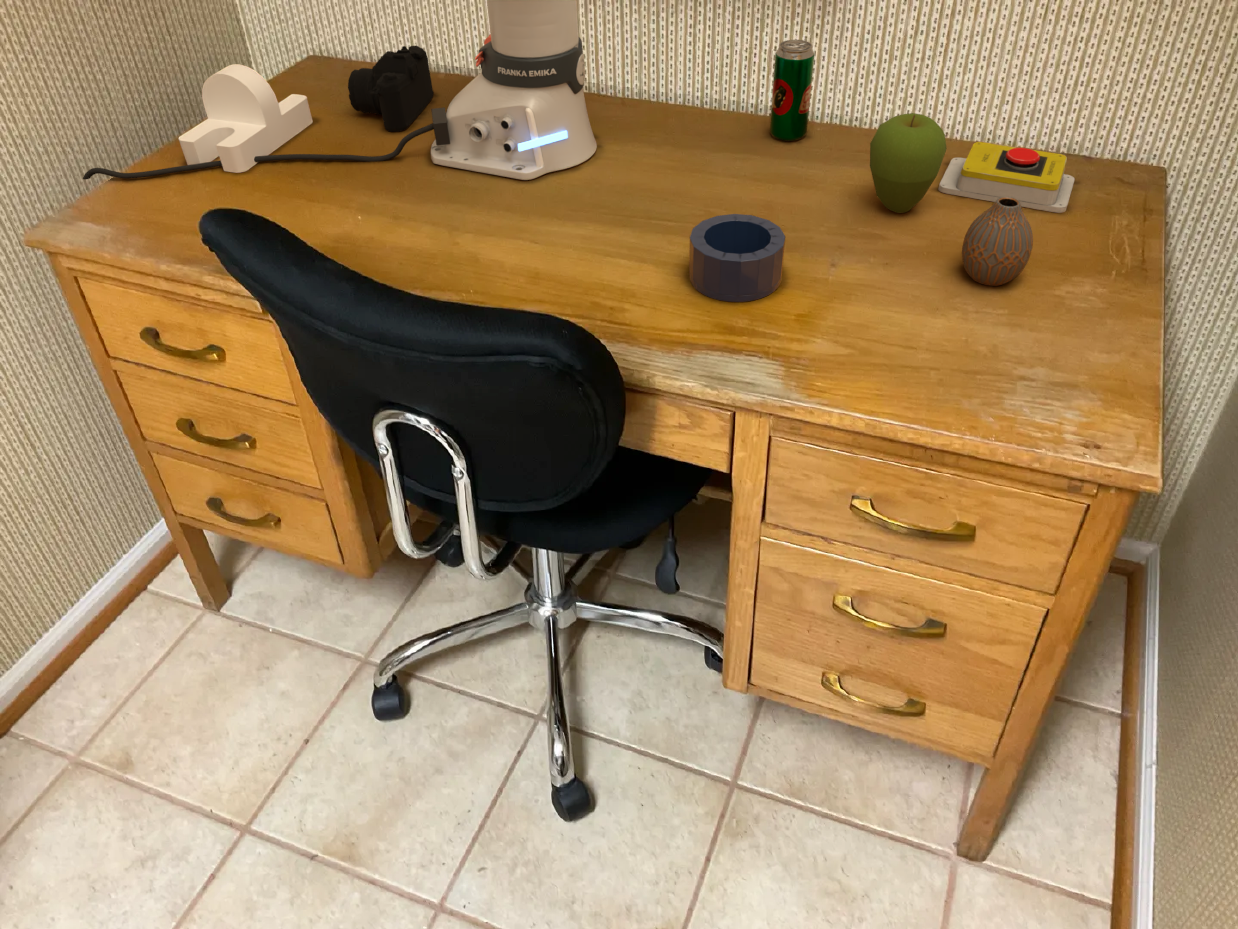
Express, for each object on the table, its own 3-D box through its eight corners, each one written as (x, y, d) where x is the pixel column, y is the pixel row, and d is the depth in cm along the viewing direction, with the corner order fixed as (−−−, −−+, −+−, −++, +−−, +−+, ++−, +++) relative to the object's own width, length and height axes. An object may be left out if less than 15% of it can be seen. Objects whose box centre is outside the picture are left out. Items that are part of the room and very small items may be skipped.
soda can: (805, 143, 131) (814, 52, 123) (767, 141, 132) (774, 51, 124) (807, 128, 135) (816, 38, 127) (770, 126, 136) (777, 37, 128)
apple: (871, 187, 122) (885, 95, 114) (940, 198, 119) (959, 105, 111) (853, 218, 116) (866, 123, 108) (924, 231, 113) (943, 135, 105)
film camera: (381, 90, 150) (369, 30, 144) (441, 93, 148) (431, 32, 142) (342, 131, 139) (327, 67, 133) (405, 135, 137) (393, 70, 131)
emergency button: (1075, 179, 112) (943, 157, 117) (1064, 213, 115) (936, 191, 120) (1084, 146, 118) (959, 128, 123) (1074, 180, 121) (952, 160, 126)
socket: (682, 297, 104) (682, 256, 101) (697, 250, 111) (698, 210, 108) (775, 306, 102) (779, 264, 99) (785, 258, 109) (789, 217, 106)
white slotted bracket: (315, 120, 142) (298, 48, 136) (242, 173, 130) (219, 97, 123) (260, 113, 145) (240, 42, 138) (183, 165, 132) (157, 90, 126)
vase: (947, 262, 108) (963, 188, 102) (1008, 257, 108) (1028, 184, 102) (969, 295, 103) (987, 220, 97) (1033, 290, 103) (1055, 215, 97)
